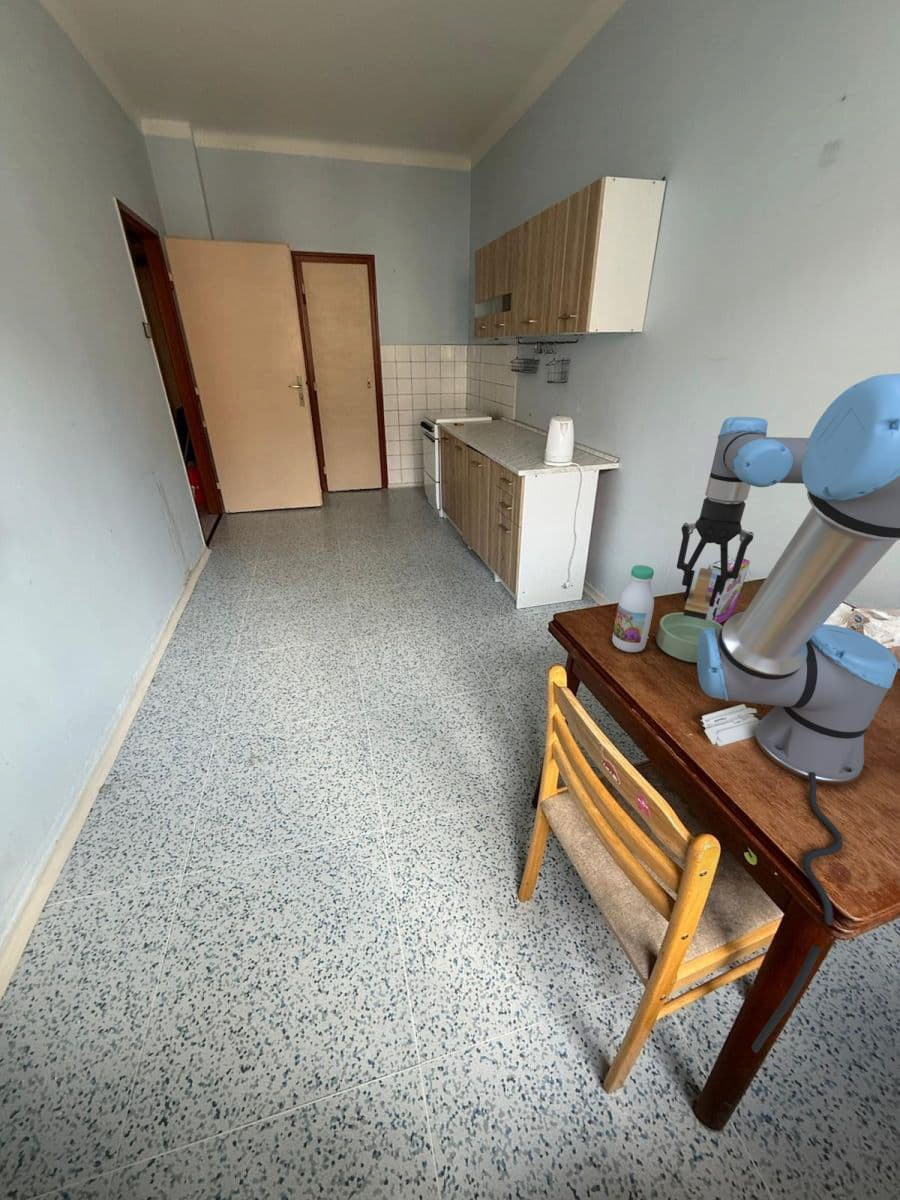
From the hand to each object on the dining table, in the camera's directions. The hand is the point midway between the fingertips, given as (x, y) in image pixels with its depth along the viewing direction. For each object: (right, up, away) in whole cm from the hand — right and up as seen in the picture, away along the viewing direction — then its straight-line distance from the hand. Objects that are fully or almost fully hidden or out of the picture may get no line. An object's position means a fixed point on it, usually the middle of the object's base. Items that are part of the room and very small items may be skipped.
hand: (698, 601), depth 106 cm
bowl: (+1, -11, +6) cm, 13 cm away
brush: (0, -2, +1) cm, 2 cm away
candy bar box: (+13, -5, +17) cm, 22 cm away
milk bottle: (-13, -11, +8) cm, 18 cm away
